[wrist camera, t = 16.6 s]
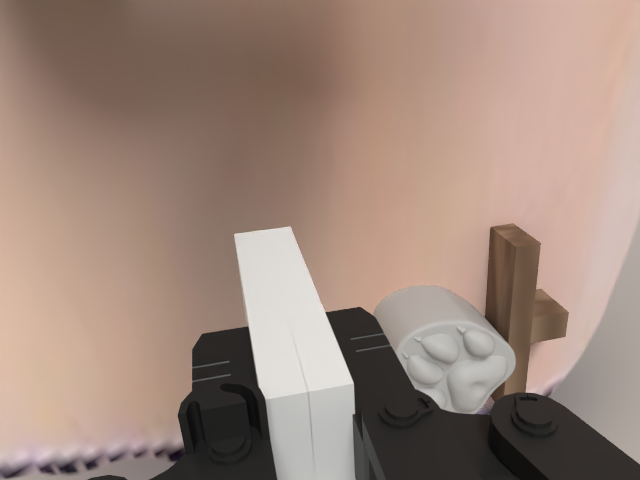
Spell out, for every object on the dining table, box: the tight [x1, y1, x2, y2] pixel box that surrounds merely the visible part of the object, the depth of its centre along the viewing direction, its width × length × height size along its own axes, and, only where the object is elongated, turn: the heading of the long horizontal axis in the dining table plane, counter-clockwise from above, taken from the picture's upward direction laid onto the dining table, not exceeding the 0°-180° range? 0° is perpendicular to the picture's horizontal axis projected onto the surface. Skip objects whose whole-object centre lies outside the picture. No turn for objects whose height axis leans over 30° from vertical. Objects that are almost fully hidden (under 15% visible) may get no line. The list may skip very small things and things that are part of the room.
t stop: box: [485, 224, 569, 402], centre depth 59 cm, size 6×20×5 cm, turn 4°
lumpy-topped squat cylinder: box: [373, 286, 516, 414], centre depth 56 cm, size 10×13×9 cm
